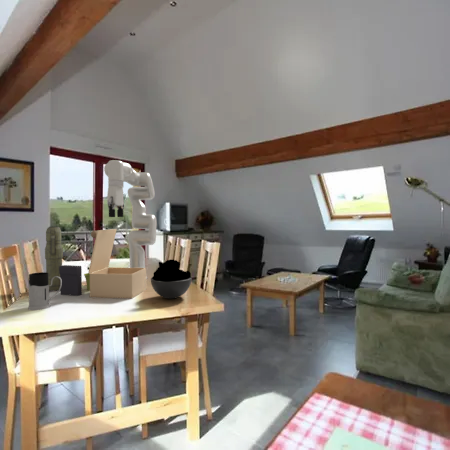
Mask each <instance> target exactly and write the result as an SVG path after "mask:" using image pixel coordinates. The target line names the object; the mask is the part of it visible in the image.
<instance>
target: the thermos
mask: <svg viewBox="0 0 450 450" xmlns="http://www.w3.org/2000/svg"><path fill="white" fill-rule="evenodd" d="M45 241H46V243H45V248H44V259H45V263H46V264H45V272H46V273H48V284H49V285H51V280H52V278H53V277H55V276H58V277H60V274H59V266H63V258H64V247H63V245H62V230H61V227H59V226H49V227H47V228H46V230H45ZM58 277H55V278H54V279H53V281H52V285H51V286H49V292H58V290H59V288H60V279H59V278H58Z"/></svg>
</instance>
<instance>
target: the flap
mask: <svg viewBox="0 0 450 450" xmlns="http://www.w3.org/2000/svg"><path fill="white" fill-rule="evenodd" d="M117 230H118V229H117V228H111V229H100V230H99V229H98V230H92V231H91V232H90V236H91V238H92V239H95V240H94V246H93V250H92V254H91V259H90V264H89V269H88V272H87V273H89V274H90V273H93V272H96V271H99V270H102V269H105V268H108V267H110V261H111V257H112V252H113V248H114V245H115V244H114V243H115V238H116V233H117Z"/></svg>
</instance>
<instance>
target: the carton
mask: <svg viewBox="0 0 450 450" xmlns="http://www.w3.org/2000/svg"><path fill="white" fill-rule="evenodd" d="M146 276H147V267H145V268H130V267H113V266H112V267H110V266H109V267H107V268H104V269H101V270H98V271H95V272H92V273H90V290H89V298H92V299H95V298H96V299H97V298H99V299H134V298H135V297H137V296H138V295H141V294H142V293H143V292H145V291H146V290H147V279H146Z"/></svg>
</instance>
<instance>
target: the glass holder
mask: <svg viewBox="0 0 450 450" xmlns="http://www.w3.org/2000/svg"><path fill="white" fill-rule="evenodd" d="M55 277H58V276H55ZM55 277H53V278H52V280H51V285H52V281H53V279H54V278H55ZM58 278H59V279H60V281H61V284H60V288H59V290H58V291H56V293H55V294H54V295H53V296H52V297H50V291H49V286H51V285H49V284H48V273H46V271H43V272H40V271H39V272H33V273H29V274H28V307H27V309H28V310H29V311H38V310H44V309H48V308H50V307H51V303H50V301H51V300H52V299H53V298H54V297H56V296H57V295H58V293H59V292H60V289H61V285H62V280H61V278H60V277H58Z"/></svg>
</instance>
